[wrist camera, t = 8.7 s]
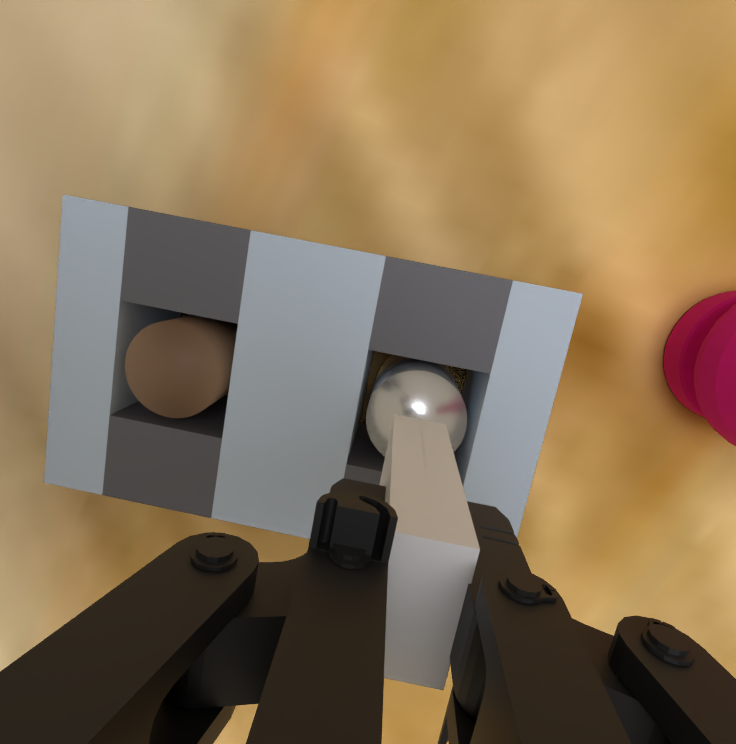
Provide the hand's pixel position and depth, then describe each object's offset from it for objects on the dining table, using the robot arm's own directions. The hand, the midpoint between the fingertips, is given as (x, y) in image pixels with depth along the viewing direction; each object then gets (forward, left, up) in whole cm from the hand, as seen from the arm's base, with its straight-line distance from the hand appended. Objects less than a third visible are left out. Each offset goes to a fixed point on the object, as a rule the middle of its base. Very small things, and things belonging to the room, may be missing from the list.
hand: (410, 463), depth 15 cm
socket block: (-3, -3, -12) cm, 13 cm away
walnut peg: (-7, -6, -12) cm, 15 cm away
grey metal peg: (+1, 0, -12) cm, 12 cm away
